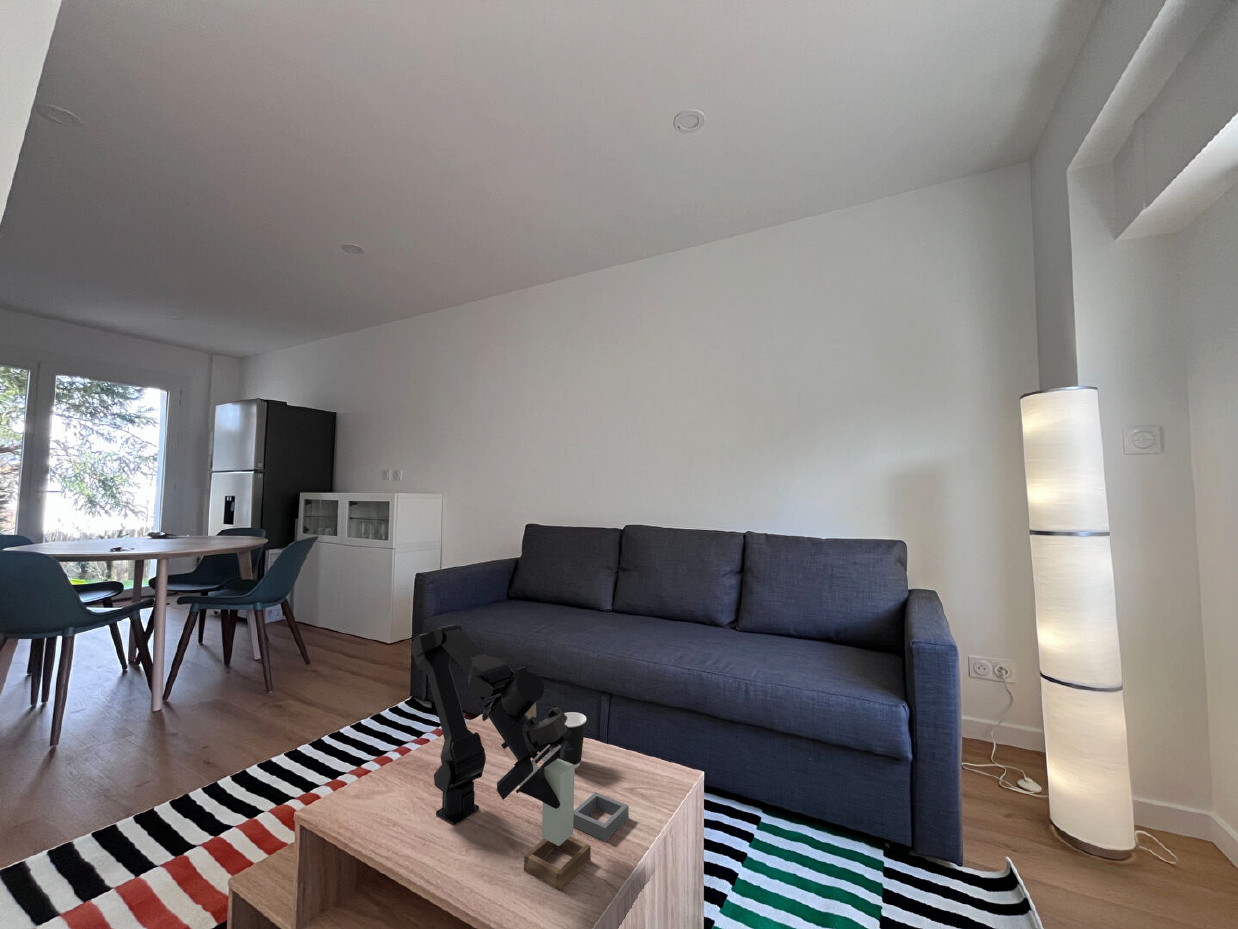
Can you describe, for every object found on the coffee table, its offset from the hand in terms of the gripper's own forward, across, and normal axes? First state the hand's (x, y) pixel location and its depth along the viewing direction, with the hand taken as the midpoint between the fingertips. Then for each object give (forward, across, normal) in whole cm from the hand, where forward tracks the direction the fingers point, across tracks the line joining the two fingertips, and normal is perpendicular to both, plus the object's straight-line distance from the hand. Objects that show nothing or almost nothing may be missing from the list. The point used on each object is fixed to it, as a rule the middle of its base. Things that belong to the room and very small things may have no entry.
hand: (564, 799), depth 88 cm
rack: (+7, 0, +9) cm, 12 cm away
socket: (+9, +14, +7) cm, 18 cm away
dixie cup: (-2, +31, +19) cm, 37 cm away
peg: (+4, 0, +6) cm, 7 cm away
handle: (-14, +39, +31) cm, 51 cm away
